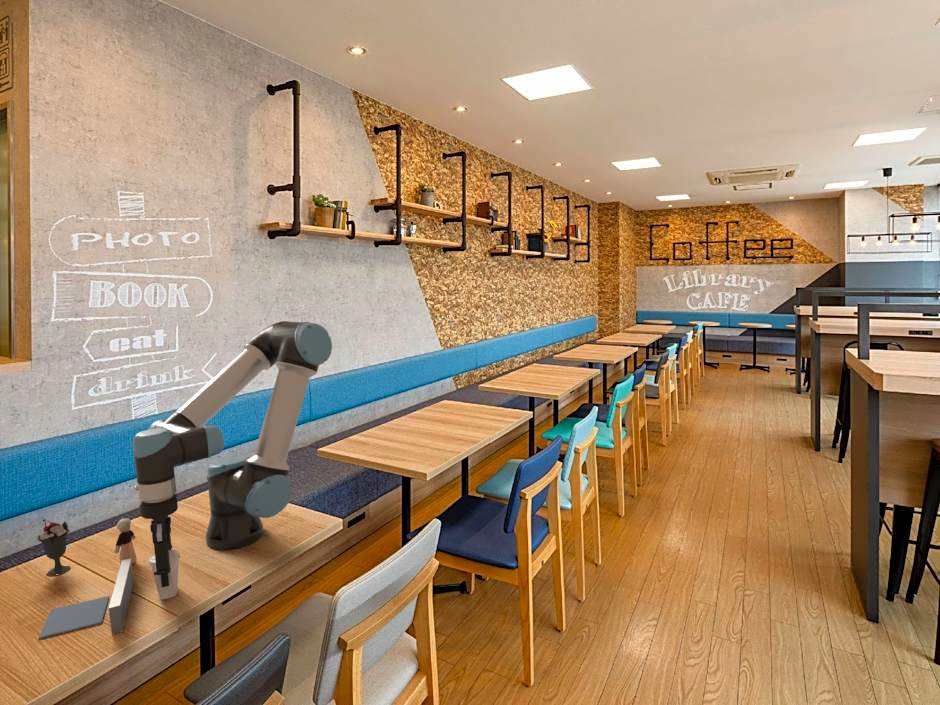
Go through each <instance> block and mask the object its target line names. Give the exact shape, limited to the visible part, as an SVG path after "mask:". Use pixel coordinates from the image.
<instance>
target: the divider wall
mask: <svg viewBox="0 0 940 705" xmlns="http://www.w3.org/2000/svg"><path fill="white" fill-rule="evenodd" d="M119 565H120V564H119ZM119 568H120V569H119ZM119 568H118V569H119V570H118V573H117V576H116V580H115V584H114V587H113V591H112V595H111V597H110V598H111V599H110V602H109V605H108V615H109V623H110V631H111V635H114V634H113V633H116V634H119V633H118V632H120V633H122V632H121V631H123V632H124V630H123V628H125V625H126V624H125V623H126V620H125V619H127V616H126V614H128V611H127V610H129V606H130V602H129V601H131V596H132V592H133V586H134V582H135V578H134V572H133V565H132V560H131V559H126V560H122V561H121V565H120V566H119ZM128 605H129V606H128ZM124 624H125V625H124Z"/></svg>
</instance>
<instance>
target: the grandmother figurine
mask: <svg viewBox="0 0 940 705" xmlns="http://www.w3.org/2000/svg"><path fill="white" fill-rule="evenodd" d="M131 524H132V521H131V519H129V518H121V519H119V521H118V522H117V523H116V525H115V526H116V529H117V530H118V531H119V532H120V533H119V535H118V538H117V540H116V543H115V549H114V553H115V554H119V565H121V561H122V560H126V559H131V560H132V566H133V565H135V564H136V563H137V560H138V558H137V555H136V554H137V553H136V551H135V548H134V544H133V541H134V540H135V539H136V535H135V533H134V532H133V530H132V529H131ZM118 569H120V567H118Z"/></svg>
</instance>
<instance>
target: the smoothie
mask: <svg viewBox="0 0 940 705" xmlns="http://www.w3.org/2000/svg"><path fill="white" fill-rule="evenodd" d="M180 554H181V553H180V551H179V550H176V549H171V550H169V561H170V568H171V573H172V582H173V592H174V597H176V595H177V594H178V583H179V582H178V580H179V579H178V578H179V559H180V558H181V555H180ZM148 564H149V566H150V567H151V571H152V574H153V578H154V582H155V586H156V589H157V592H158V596H159V598H160V592H159V583H158V575H154V572H157V570H156V560H155V553H154V554H152V555H151V556H150V557H149V558H148ZM171 598H173V597H171ZM171 598H170V599H171ZM166 600H169V599H168V598H167V599H166Z"/></svg>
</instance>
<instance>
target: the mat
mask: <svg viewBox="0 0 940 705" xmlns="http://www.w3.org/2000/svg"><path fill="white" fill-rule="evenodd" d="M109 599H110V596H109V595H107V596H102V597H99V598H95V599H94V598H93V599H90V600H85V601H81V602H77V603H74V604H73V603H72V604H69V605H68V604H67V605H64V606H60V607H56V608H51V610H50V612H49V613H48V615H47V618H46V621H45V623H44V626H43V627H42V630H41V632H40V634H39V636H38V640H42V639H45V637H46V638H49V636H50V637H53V636H52V635H54V636H57V635H56V634H58V635H61V634H60V633H62V634H64V633H63V632H66V633H69V632H68V631H70V632H72V631H71V630H74V631H78V630H81V629H80V628H82V629H85V627H86V628H89V627H88V626H90V627H93V625H94V626H97V625H96V624H98V625H101V624H100V623H102V624H103V621H104V618H105V614H106V611H105V610H107V606H108V603H109ZM103 617H104V618H103ZM77 629H78V630H77ZM41 638H42V639H41Z"/></svg>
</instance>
